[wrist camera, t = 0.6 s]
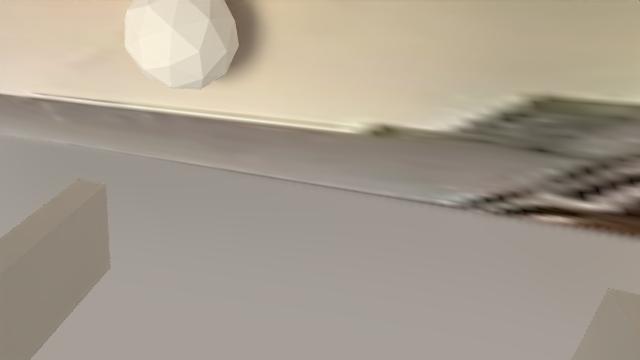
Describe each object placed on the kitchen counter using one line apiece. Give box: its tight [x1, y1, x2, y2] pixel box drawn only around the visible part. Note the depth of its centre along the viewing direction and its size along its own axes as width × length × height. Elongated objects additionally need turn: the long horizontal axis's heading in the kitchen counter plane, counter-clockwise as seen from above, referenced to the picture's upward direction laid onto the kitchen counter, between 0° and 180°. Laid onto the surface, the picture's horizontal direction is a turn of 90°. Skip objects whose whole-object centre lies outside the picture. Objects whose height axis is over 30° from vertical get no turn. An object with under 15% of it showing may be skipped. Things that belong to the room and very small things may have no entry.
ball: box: [124, 0, 239, 90], centre depth 36 cm, size 8×8×8 cm
